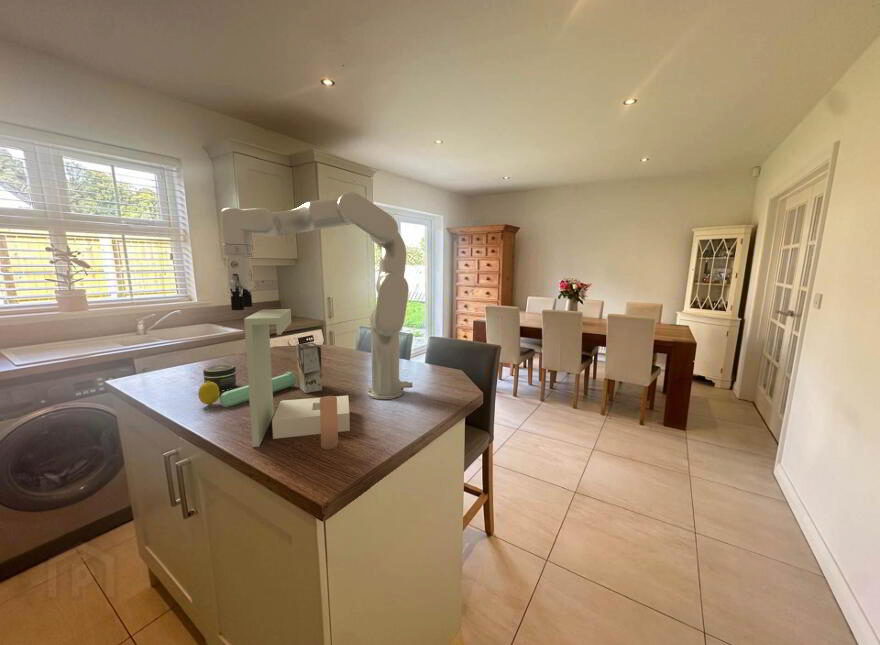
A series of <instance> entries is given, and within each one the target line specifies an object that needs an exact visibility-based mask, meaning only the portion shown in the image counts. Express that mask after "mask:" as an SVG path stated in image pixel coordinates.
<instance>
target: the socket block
mask: <svg viewBox="0 0 880 645" xmlns="http://www.w3.org/2000/svg"><path fill="white" fill-rule="evenodd" d="M335 397H337V419H338V433H339V432H340V433H343V432H349V431H351V424H350V421H351V420H350V417H351V416H350V403H349V402H350V401H349V395H348V394H347V395H339V396H338V395H337V396H336V395H335ZM320 398H321V397H313V398H301V399H300V398H299V399H287V400H280V402H279V404H278V406H277V407H276V411H275V413H274V415H273V418H272V420H271V425H272V426H271V427H272V440H273V439H274V440H275V439H283V438H293V437H294V438H295V437H304V436H312V435H321V425H320Z"/></svg>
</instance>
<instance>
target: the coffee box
mask: <svg viewBox="0 0 880 645" xmlns="http://www.w3.org/2000/svg"><path fill="white" fill-rule="evenodd" d="M296 360H297V361H296V365H297V381H298V382H297V384H298V388H299V389H300V390H301V391H303V393H305V394H308V393H312V392H313V393H315V392H319V391H322V390H323V375H322V374H323V373H322V347H321V346H320V345H318V344H316V343H314V342H306V343H299V344H296Z"/></svg>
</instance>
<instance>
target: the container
mask: <svg viewBox="0 0 880 645" xmlns="http://www.w3.org/2000/svg"><path fill="white" fill-rule="evenodd" d="M296 384H297V383H296V376H295V375H294V373H293V372H291V371H287V372H285V373H284V374H281V375H278V376H275V377H272V390H273V393H276V392H279V391H281V390H285V389H287V388H294V386H296ZM219 402H220V404H221V406H222V407H224V408H230V407H229V406H231V407H233V405H234V406H237V405H239V403H240V404H242V402H243V403H245V402H250V401H249V386H248V384H247V385H244V386H240V387H237V388H232V389H229V390H226V391H223V393H221V395H219ZM236 404H237V405H236Z"/></svg>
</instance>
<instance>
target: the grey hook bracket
mask: <svg viewBox="0 0 880 645" xmlns="http://www.w3.org/2000/svg"><path fill="white" fill-rule="evenodd" d="M291 310H292V309H291V308H286V309H285V308H279V309H276V308H275V309H273V308H272V309H270V308H269V309H267V308H266V309H260V310H258V311H257V312H254V313H252V314H251V315H249V316H246V317H245V318H243V321H244V339H245V351H246V352H245V353H246V370H247V382H248V383H247V385H248V386H249V401H248V402H249V414H250V416H249V417H250V429H251V444H252V448H258V447H260V445H261V443H262V441H263V439H264V437H265V435H266V433H267V431H268V428H269V426H270V424H271V423H272V419H273V417H274V415H275V413H274V411H275V410H274V397H273V395H274V392H273V390H272V378H273V375H272V374H273V372H272V360H271V359H272V358H271V355H272V354H271V339H270V338H271V337H270V325H275V328H276V336H277V335H278V336H280V335H282V334H283V333H284V331H286V329H287V328H288V327H289V326H290V325H291V324H292V311H291Z"/></svg>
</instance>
